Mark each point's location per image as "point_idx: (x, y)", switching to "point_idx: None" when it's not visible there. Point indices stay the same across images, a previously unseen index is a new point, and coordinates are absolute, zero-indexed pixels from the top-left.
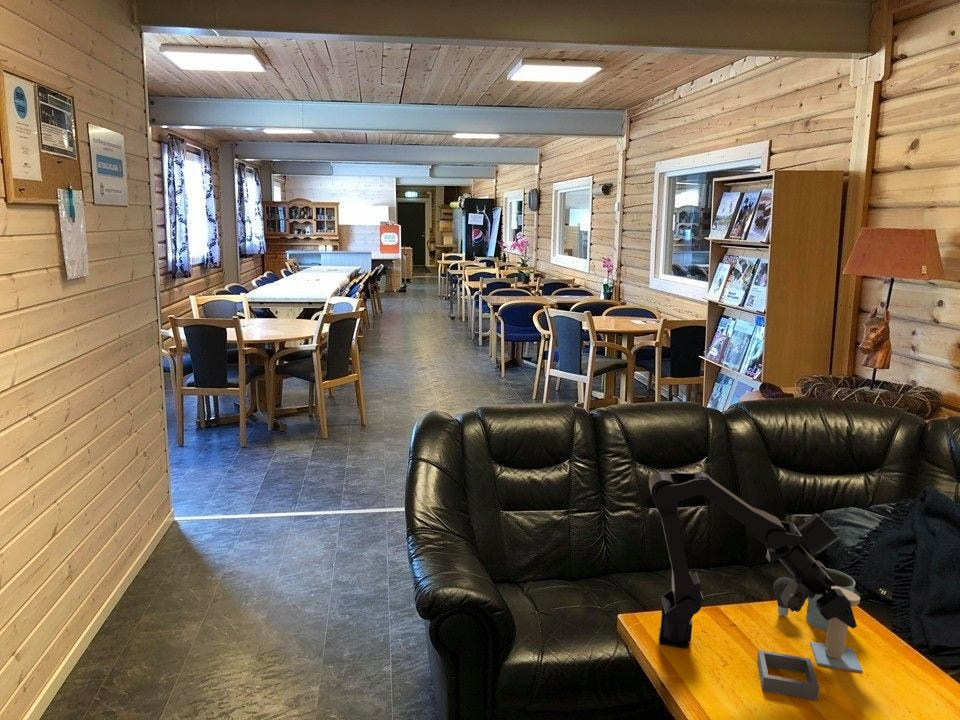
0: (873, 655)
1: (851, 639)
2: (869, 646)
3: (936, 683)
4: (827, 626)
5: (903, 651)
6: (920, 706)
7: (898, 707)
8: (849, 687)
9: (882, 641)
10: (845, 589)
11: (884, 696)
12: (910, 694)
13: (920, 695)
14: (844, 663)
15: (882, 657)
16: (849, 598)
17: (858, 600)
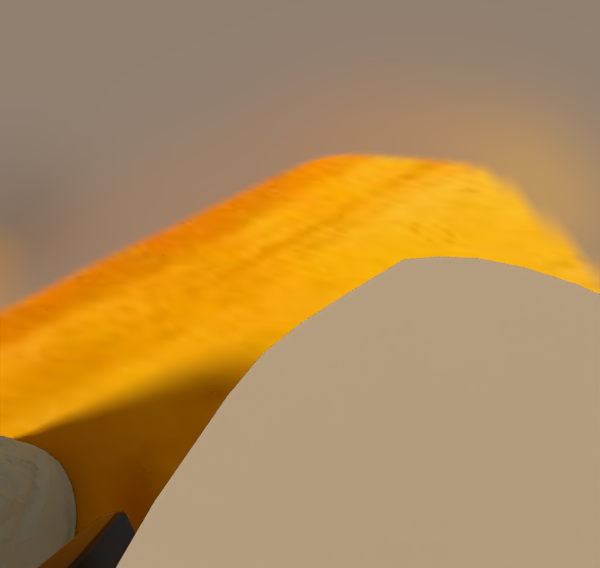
0: (242, 339)
1: (131, 417)
2: (172, 348)
3: (342, 180)
4: (59, 546)
5: (172, 243)
6: (521, 227)
7: (587, 286)
8: None
9: (117, 300)
10: (140, 562)
11: None
12: (463, 246)
13: (448, 222)
14: None
15: (244, 309)
16: None
17: (570, 292)
